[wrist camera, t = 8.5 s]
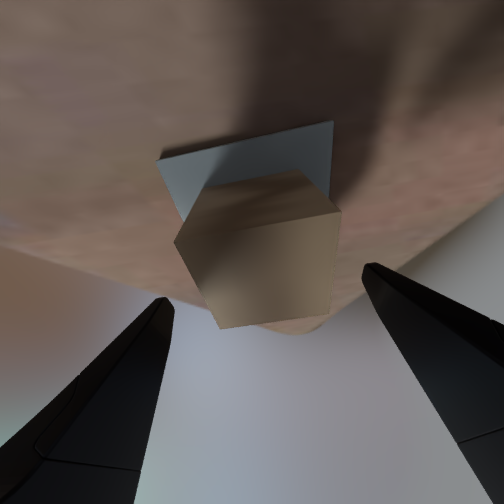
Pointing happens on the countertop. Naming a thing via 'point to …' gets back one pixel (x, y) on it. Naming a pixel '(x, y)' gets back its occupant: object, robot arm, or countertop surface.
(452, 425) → the robot arm
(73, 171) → the countertop surface
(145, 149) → the countertop surface
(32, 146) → the countertop surface
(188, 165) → the coaster
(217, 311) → the beige cube
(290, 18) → the countertop surface
